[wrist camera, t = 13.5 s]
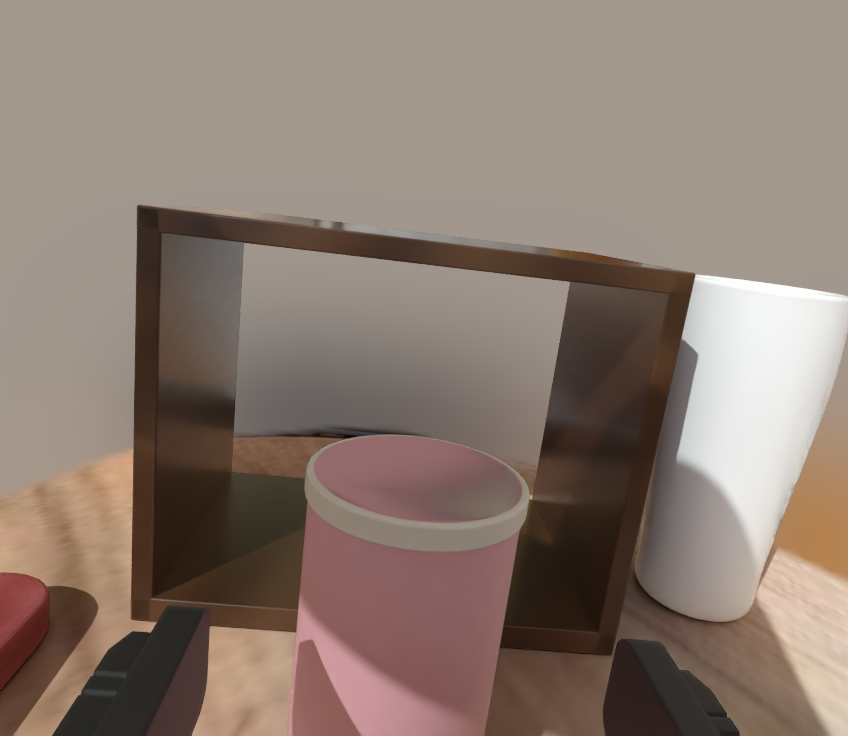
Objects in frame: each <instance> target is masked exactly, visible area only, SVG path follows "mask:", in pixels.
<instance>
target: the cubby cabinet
mask: <svg viewBox="0 0 848 736" xmlns="http://www.w3.org/2000/svg"><path fill="white" fill-rule="evenodd" d="M244 243H251V244H259V245H269V246H276V247H285V248H293V249H301V250H310V251H318V252H327V253H335V254H343V255H351V256H360V257H368V258H377V259H385V260H393V261H401V262H410V263H419V264H426V265H435V266H443V267H452V268H460V269H468V270H477V271H485V272H493V273H501V274H510V275H518V276H526V277H535V278H543V279H552V280H561V281H568V282H570V286H569V292H568V298H567V303H566V309H565V315H564V321H563V327H562V332H561V338H560V343H559V349H558V355H557V361H556V366H555V372H554V378H553V384H552V389H551V395H550V401H549V407H548V412H547V418H546V423H545V429H544V435H543V441H542V446H541V452H540V458H539V463H538V469H537V475H536V481H535V486H534V492H533V498H532V500H529V504H528V510H527V516H526V519H525V522H524V524H523V525H522V527H521V528H520V531H519V537H518V543H517V549H516V554H515V560H514V566H513V572H512V578H511V584H510V589H509V595H508V601H507V607H506V613H505V618H504V624H503V630H502V636H501V642H500V647H511V648H524V649H538V650H552V651H565V652H579V653H593V654H606V655H612V652H613V647H614V643H615V638H616V634H617V629H618V625H619V620H620V615H621V611H622V606H623V602H624V597H625V593H626V588H627V584H628V579H629V575H630V570H631V566H632V561H633V556H634V552H635V547H636V543H637V538H638V534H639V529H640V525H641V520H642V516H643V511H644V507H645V502H646V497H647V493H648V488H649V484H650V479H651V475H652V470H653V466H654V461H655V457H656V452H657V448H658V443H659V438H660V434H661V429H662V425H663V420H664V416H665V411H666V407H667V402H668V398H669V393H670V389H671V384H672V379H673V375H674V370H675V366H676V361H677V357H678V352H679V348H680V343H681V339H682V334H683V330H684V325H685V321H686V316H687V311H688V307H689V302H690V298H691V294H692V289H693V285H694V280H695V273H691V272H685V271H680V270H676V269H670V268H665V267H660V266H654V265H649V264H644V263H638V262H633V261H627V260H622V259H617V258H611V257H607V256H602V255H596V254H591V253H584V252H576V251H568V250H560V249H551V248H543V247H534V246H527V245H519V244H511V243H503V242H494V241H486V240H479V239H471V238H462V237H454V236H446V235H438V234H430V233H422V232H414V231H406V230H398V229H390V228H382V227H373V226H366V225H358V224H350V223H342V222H333V221H325V220H317V219H309V218H301V217H293V216H285V215H276V214H268V213H261V212H253V211H244V210H236V209H221V208H200V207H177V206H154V205H138V206H137V265H136V268H137V269H136V329H135V330H136V331H135V392H134V395H135V396H134V397H135V398H134V455H133V518H132V581H131V619H132V620H143V621H158V620H159V618H160V616H161V615H162V613H163V611H164V609H165V608H166V607H167V606H168V605H176V606H190V607H204V608H209V611H210V625H211V626H225V627H238V628H252V629H266V630H279V631H293V632H296V630H297V618H298V607H299V595H300V583H301V572H302V560H303V548H304V536H305V525H306V513H307V499H306V496H305V490H304V486H305V479H301V478H290V477H279V476H268V475H257V474H246V473H235V472H231V471H232V453H233V434H234V415H235V396H236V378H237V360H238V343H239V342H238V341H239V323H240V305H241V288H242V269H243V268H242V267H243V251H244Z"/></svg>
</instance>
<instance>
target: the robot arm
mask: <svg viewBox="0 0 848 736" xmlns="http://www.w3.org/2000/svg"><path fill="white" fill-rule="evenodd" d="M209 628H210V611H209V608H204V607H190V606H176V605H168V606H167V607H166V608H165V609H164V611H163V613H162V615H161V616H160V618H159V620H158V621H157V623H156V625H155V627H154V628H153V630H152V632H151V633H148V632H133V631H132V632H131V633H130V634H128V635H127V636H126V637H124V638H123V639H122V640H121V641H119V642H118V643H117V644H115V645H114V646H113V647H111V648H110V649H109V650H108V651H107V653H106V654H105V656H104V657H103V659H102V660H101V662H100V663H99V665H98V666H97V668H96V669H95V671H94V674H93V676H91V677H90V679H89V680H88V682H87V683H86V685H85V686H84V688H83V689H82V692H81V695H78V697H77V698H76V700H75V702H74V703H73V705H72V706H71V708H70V709H69V711H68V712H67V714H66V715H65V717H64V718H63V720H62V721H61V723H60V724H59V726H58V728H57V729H56V731H55V732H54V734H53V735H52V736H191V735H192V733H193V730H194V727H195V725H196V722H197V720H198V717H199V714H200V711H201V708H202V704H203V700H204V695H205V690H206V684H207V671H208V650H209ZM603 722H604V730H605V734H606V736H740V735H739V731H738V729H737V728H736V726H735V725H734V723H733V722H732V720H731V719H730V718H727V713H726V712H725V710H724V709H723V707H722V706H721V704H720V703H719V701H718V700H717V698H716V697H715V695H714V694H713V693H712V691H711V690H710V689H709V688H707V687H706V686H705V685H704V684H703V683H702V682H700V681H699V680H698V679H697V678H696V677H695V676H694V675H692V674H691V673H690V672H689V671H684V670H679V669H678V667H677V666H676V664H675V662H674V661H673V659H672V658H671V656H670V655H669V653H668V652H667V650H666V648H665V647H664V646H663V644H662V643H661V642H659V641H646V640H632V639H621V640H620V641H619V642H618V643H617V646H616V649H615V654H614V659H613V663H612V668H611V672H610V677H609V682H608V686H607V691H606V696H605V700H604V706H603Z"/></svg>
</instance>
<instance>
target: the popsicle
mask: <svg viewBox="0 0 848 736" xmlns="http://www.w3.org/2000/svg"><path fill="white" fill-rule="evenodd" d="M49 600H50V596H49V591H48V589H47V587H46V585H45V584H44V583H43V582H41V581H40V580H39V579H37V578H34V577H31V576H28V575H25V574H18V573H0V690H1V689H2V688H3V687H4V686H5V684H6V683H7V682H8V681H9V680H10V678H11V677H12V676H13V675H14V674H15V673H16V671H17V670H18V669H19V668H20V667H21V665H22V664H23V663H24V662H25V661H26V659H27V658H28V657H29V656H30V655H31V653H32V652H33V651H34V650H35V649H36V647H37V646H38V645H39V643H40V642H41V640H42V639H43V637H44V636H45V634H46V632H47V630H48V627H49V624H50V614H49Z"/></svg>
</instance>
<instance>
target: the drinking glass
mask: <svg viewBox="0 0 848 736" xmlns="http://www.w3.org/2000/svg"><path fill="white" fill-rule="evenodd" d="M847 333H848V296H845V295H840V294H834V293H829V292H822V291H817V290H810V289H804V288H797V287H790V286H784V285H776V284H769V283H762V282H754V281H747V280H739V279H731V278H722V277H715V276H705V275H695V280H694V285H693V289H692V294H691V298H690V302H689V307H688V311H687V316H686V321H685V325H684V330H683V334H682V339H681V343H680V348H679V352H678V357H677V361H676V366H675V370H674V375H673V379H672V384H671V389H670V393H669V398H668V402H667V407H666V411H665V416H664V420H663V425H662V429H661V434H660V438H659V443H658V448H657V452H656V457H655V461H654V466H653V470H652V475H651V479H650V484H649V488H648V493H647V497H646V502H645V510H644V518H643V525H642V532H641V538H640V542H639V547H638V551H637V556H636V561H635V573H636V577H637V579H638V582H639V583H640V585H641V586H642V588H643V589H644V590H645V591H646V592H647V593H648V594H649V595H650V596H651V597H652V598H654V599H655V600H656V601H658V602H659V603H661V604H663V605H664V606H666V607H668V608H670V609H672V610H674V611H676V612H678V613H681V614H683V615H686V616H689V617H692V618H696V619H700V620H705V621H712V622H727V621H733V620H736V619H739V618H741V617H743V616H744V615H746V614H747V613H748V611H749V610H750V609H751V607H752V605H753V602H754V599H755V595H756V592H757V588H758V584H759V581H760V577H761V574H762V571H763V568H764V565H765V563H766V560H767V557H768V555H769V552H770V549H771V547H772V544H773V542H774V539H775V536H776V534H777V531H778V528H779V526H780V523H781V520H782V518H783V516H784V513H785V510H786V508H787V505H788V503H789V500H790V498H791V495H792V493H793V490H794V487H795V485H796V482H797V480H798V477H799V475H800V472H801V469H802V467H803V465H804V462H805V459H806V457H807V454H808V452H809V449H810V447H811V444H812V442H813V439H814V437H815V434H816V431H817V429H818V426H819V424H820V421H821V419H822V416H823V413H824V411H825V408H826V405H827V403H828V399H829V397H830V394H831V390H832V388H833V385H834V381H835V378H836V375H837V372H838V368H839V365H840V361H841V357H842V353H843V349H844V345H845V341H846V337H847Z"/></svg>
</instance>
